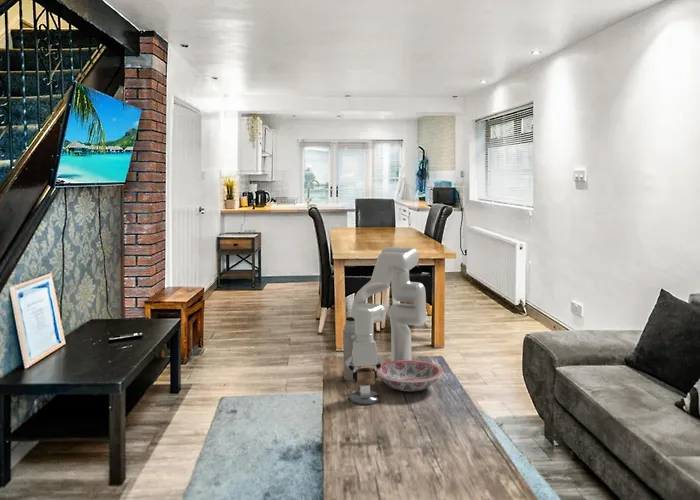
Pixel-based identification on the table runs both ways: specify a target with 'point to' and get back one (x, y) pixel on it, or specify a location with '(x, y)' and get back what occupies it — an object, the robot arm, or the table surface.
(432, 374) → the ceramic bowl
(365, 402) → the post base
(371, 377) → the hollow wooden square
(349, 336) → the thermos bottle
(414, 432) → the table surface
